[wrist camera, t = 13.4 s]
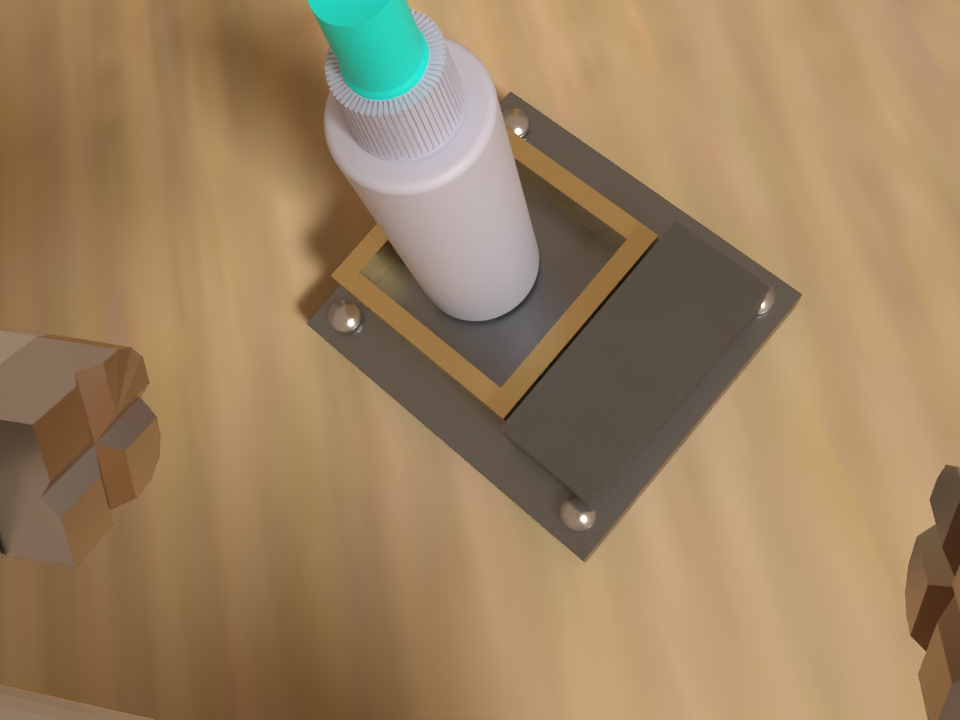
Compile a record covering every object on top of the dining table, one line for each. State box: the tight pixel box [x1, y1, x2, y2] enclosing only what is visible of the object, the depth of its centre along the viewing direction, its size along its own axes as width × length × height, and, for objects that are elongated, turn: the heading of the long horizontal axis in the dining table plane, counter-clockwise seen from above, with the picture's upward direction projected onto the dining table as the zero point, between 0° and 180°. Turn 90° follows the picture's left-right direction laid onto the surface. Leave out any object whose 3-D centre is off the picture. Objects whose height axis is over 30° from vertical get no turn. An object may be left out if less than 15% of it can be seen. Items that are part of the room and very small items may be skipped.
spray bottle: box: [308, 0, 539, 321], centre depth 35 cm, size 6×6×22 cm
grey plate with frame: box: [307, 92, 802, 562], centre depth 44 cm, size 16×18×6 cm
